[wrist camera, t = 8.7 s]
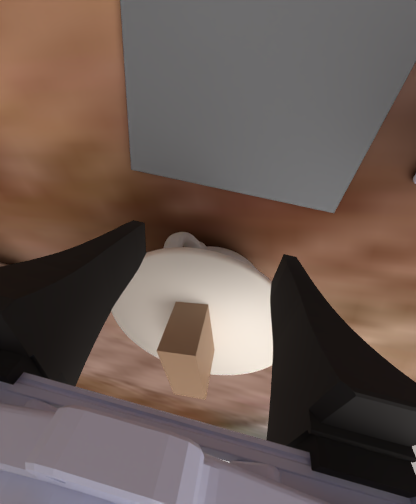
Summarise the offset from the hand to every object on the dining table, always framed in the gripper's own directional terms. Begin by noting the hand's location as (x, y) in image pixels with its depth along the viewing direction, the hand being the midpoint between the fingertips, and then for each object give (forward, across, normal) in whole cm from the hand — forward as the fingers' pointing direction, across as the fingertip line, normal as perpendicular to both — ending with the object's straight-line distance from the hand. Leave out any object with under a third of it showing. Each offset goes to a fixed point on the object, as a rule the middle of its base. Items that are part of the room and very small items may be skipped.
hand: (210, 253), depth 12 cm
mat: (+10, 0, -8) cm, 13 cm away
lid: (+2, 0, +9) cm, 10 cm away
